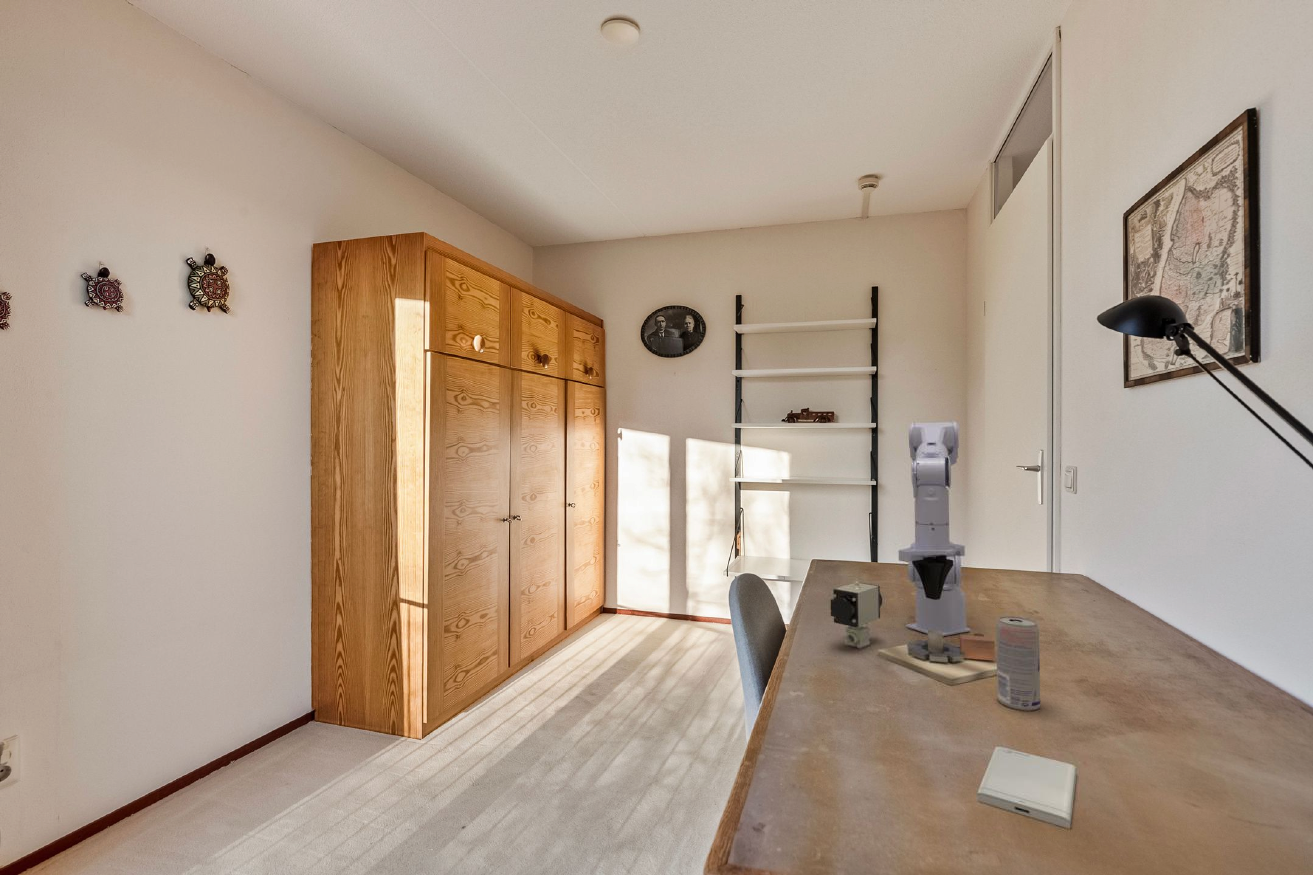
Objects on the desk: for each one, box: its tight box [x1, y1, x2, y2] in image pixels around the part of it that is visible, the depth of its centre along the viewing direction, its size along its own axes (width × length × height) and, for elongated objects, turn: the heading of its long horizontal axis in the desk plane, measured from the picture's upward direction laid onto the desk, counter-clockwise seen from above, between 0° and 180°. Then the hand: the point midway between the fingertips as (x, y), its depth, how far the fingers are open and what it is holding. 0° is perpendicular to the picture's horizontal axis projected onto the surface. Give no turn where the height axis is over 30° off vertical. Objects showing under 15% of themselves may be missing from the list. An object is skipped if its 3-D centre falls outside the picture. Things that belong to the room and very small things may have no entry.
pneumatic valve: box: [829, 580, 883, 650], centre depth 117 cm, size 6×12×12 cm, turn 133°
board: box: [876, 630, 997, 686], centre depth 107 cm, size 15×16×5 cm
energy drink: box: [995, 615, 1041, 712], centre depth 90 cm, size 5×5×12 cm
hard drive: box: [976, 746, 1077, 830], centre depth 68 cm, size 2×8×12 cm
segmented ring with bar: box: [906, 634, 996, 662], centre depth 107 cm, size 14×9×3 cm, turn 72°
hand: (932, 598), depth 112 cm, fingers closed
